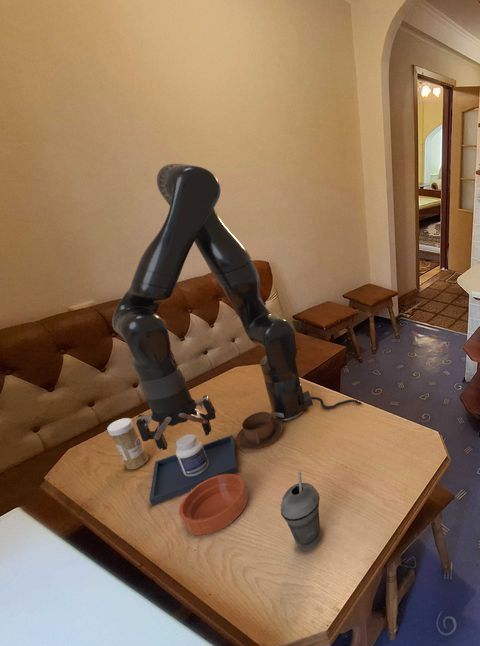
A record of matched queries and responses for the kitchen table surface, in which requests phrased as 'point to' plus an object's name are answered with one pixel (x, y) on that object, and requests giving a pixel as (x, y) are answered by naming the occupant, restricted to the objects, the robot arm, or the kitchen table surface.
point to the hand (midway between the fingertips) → (187, 440)
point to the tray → (175, 483)
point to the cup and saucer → (259, 431)
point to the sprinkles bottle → (128, 443)
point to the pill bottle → (191, 455)
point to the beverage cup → (302, 514)
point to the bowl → (213, 504)
